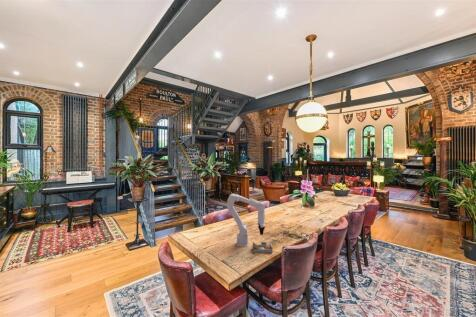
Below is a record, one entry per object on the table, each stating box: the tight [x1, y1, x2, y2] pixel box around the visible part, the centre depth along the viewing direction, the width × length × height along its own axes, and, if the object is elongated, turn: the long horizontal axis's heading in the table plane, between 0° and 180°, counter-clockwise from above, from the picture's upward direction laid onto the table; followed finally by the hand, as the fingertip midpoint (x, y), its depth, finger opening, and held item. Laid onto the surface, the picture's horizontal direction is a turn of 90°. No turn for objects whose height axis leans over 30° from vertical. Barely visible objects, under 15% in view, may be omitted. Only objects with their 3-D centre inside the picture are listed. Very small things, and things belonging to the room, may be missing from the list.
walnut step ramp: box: [252, 242, 260, 253], centre depth 163 cm, size 6×8×5 cm
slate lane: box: [253, 242, 273, 254], centre depth 163 cm, size 14×8×4 cm, turn 88°
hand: (261, 232), depth 172 cm, fingers open, 7 cm apart
